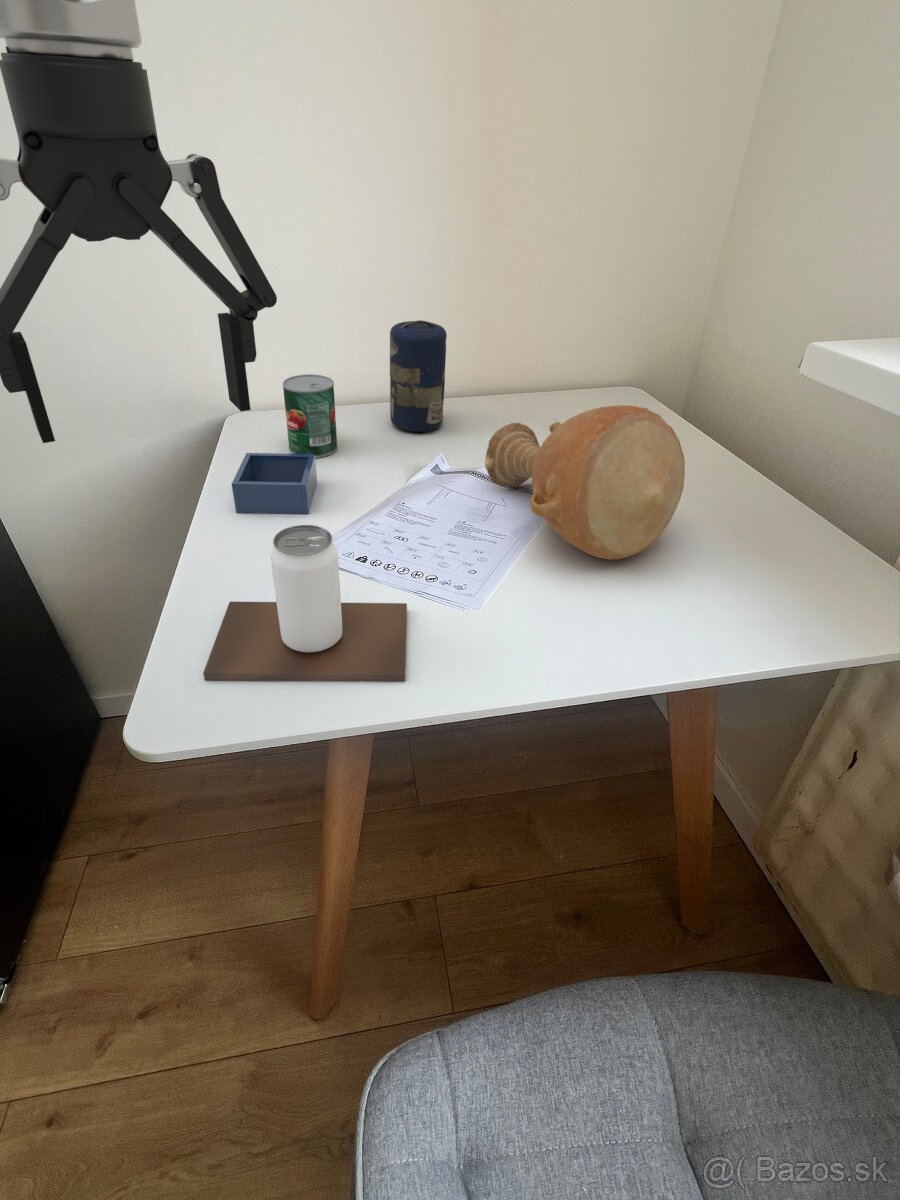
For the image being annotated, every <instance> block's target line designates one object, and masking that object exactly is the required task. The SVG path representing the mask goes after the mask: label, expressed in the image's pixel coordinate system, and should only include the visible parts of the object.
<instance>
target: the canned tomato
mask: <svg viewBox="0 0 900 1200" xmlns="http://www.w3.org/2000/svg"><path fill="white" fill-rule="evenodd" d="M334 385H335V381H334V380H333V379H332V378H330V377H328V376H325V375H321V374H311V373H309V374H307V373H306V374H296V375H292V376H290V377H287V378H286V379H284V380H283V381H282V389H283V399H284V400H283V402H284V411H285V420H286V429H287V430H286V431H287V440H288V450H289V452H290V454H309V455H310V454H315V459H318V458H319V459H320V458H325V457H328V456H331V455H333V454H334V453H335V452H336V451H337V450H338V437H337V421H336V420H337V417H336V401H335V386H334Z"/></svg>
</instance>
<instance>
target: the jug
mask: <svg viewBox="0 0 900 1200" xmlns="http://www.w3.org/2000/svg"><path fill="white" fill-rule="evenodd" d="M548 430H549V431H550V434H549V435H548V436H547V437H546V438H545V440H543V442H542V444H541V445H540V443H539V440H538V438H537V436H536V433H535V432H534V431H533V429H531V427H529V426H527V425H525V424H523V423H520V422H511V423H509V424H506V425H504V426H502V427H500V428H498V429H497V430H495V432H494V433H493V435H492V436H491V438H489V440H488V446H487V449H486V453H485V458H484V459H485V460H484V468H485V470H486V471H487V475H488V476H489V479H490V480H491V481H492V483H494V484H495V485H498V486H500V487H504V488H514V487H517V486H521V485H522V484H524V483H526V481H528V480H529V479H530V478H531V489H532V495H531V499H530V510H531V512H532V513H533V514H534V515H535V516H537V517H541V518H543V520H544V521H545V523H547V525H548V526H549V527H550V528H551V529H552V530H553V532H555V533H557V535H558V536H559V537H561V538H562V539H563V540H564V541H566V542H567V543H568V544H570V545H571V546H573V547H574V548H576V549H577V550H579V551H581V552H582V553H583V552H584V553H585V554H587V555H590V556H592V557H595V558H598V559H604V560H623V559H626V558H628V557H631V556H632V557H633V556H635V555H637V554H639V553H641V552H642V551H644V550H645V549H647V548H648V547H649V546H651V545H652V544H653V543H654V542H655V541H656V540H657V539H658V538H659V536H660V535H662V533H663V532H664V531H665V529H666V528H667V526H668V525H669V524H670V522H671V520H672V518H673V516H674V514H675V513H676V511H677V508H678V506H679V503H680V501H681V497H682V494H683V492H684V488H685V487H684V486H685V476H686V475H685V474H686V461H685V455H684V452H683V449H682V448H683V447H682V445H681V441H680V439H679V437H678V436H677V434H676V432H675V430H674V428H673V427H672V426H671V425H670V424H668V423H667V422H666V421H665V419H664V418H663V417H662V416H661V415H660V414H659V413H656V412H654V411H651V410H649V408H647V407H641V406H637V405H622V404H621V405H620V404H619V405H608V406H600V407H595V408H592V409H588V410H586V411H583V412H580V413H578V414H576V415H574V416H572V417H569V418H568V419H566V420H565V421H563V422H562V423H560V422H559V421H555V422H553V423H552V424H551V425H550V426H549V428H548Z"/></svg>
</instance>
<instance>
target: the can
mask: <svg viewBox="0 0 900 1200" xmlns="http://www.w3.org/2000/svg"><path fill="white" fill-rule="evenodd" d="M272 540H273V541H272V545H273V547H272V549H271V551H270V562H271V573H272V579H273V587H274V594H275V602H276V603H277V610H278V617H279V625H280V631H281V637H282V640H283V642H284V643H285V644H286V645H287V646H288V647H290V648H291V649H293V650H295V651H298V652H302V653H316V652H321V651H324V650H327V649H329V648H330V647H332V646H333V645H334V644H336V643H337V642H338V641H339V639H340V638H341V636H342V612H341V603H342V600H341V599H342V598H341V584H340V581H341V580H340V569H339V555H338V549H337V547H336V546H337V545H336V544H335V543H334V541H333V536H332V533H331V532H330V531H329V530H328V529H326V528H324V527H322V526H319V525H315V524H297V525H291V526H288V527H285V528H283V529H282V530H280V531H279V532H277V533H276V534H275V535H274V537H273V539H272Z"/></svg>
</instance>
